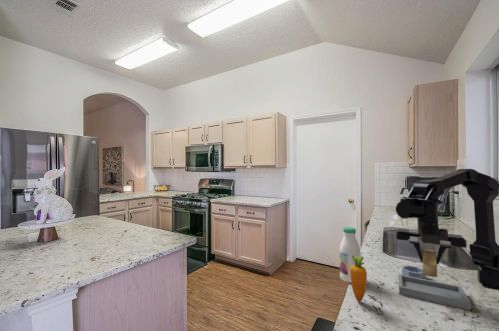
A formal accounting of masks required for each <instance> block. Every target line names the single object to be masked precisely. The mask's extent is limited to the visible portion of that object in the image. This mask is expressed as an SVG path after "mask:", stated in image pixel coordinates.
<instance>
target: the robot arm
mask: <svg viewBox="0 0 499 331" xmlns="http://www.w3.org/2000/svg"><path fill="white" fill-rule="evenodd" d="M458 185H462V186H463V187H464V188H465V189H466V192H467V195H468V196H469V197H470V198H471V200H472V201H473V209H474V210H473V211H474V223H475V224H474V225H475V241H474V242H473V243H469V245H468V244H467V239H465V238H464V237H463V236H462V235H461V234H453V233H449V232H448V231H449V230H448V229H447V228H439V210H438V209H439V208H438V205H443V201H442V200H441V199H439V197H441V196H442V195H444V194H445V192H446V190H448V189H450V188H452V187H453V188H454V187H456V186H458ZM498 196H499V181H498V180H497V179H496V178H494V177H492V176H490V175H487V174H485V173H482V172H479V171H477V169H473V168H460V169H456V170H455V171H453V172H450V173H447V174H445V175H442V176H440V177H439V176H438V177H437V178H434V179H433V178H432V179H424V180H423V179H422V180H417V181H415V182H413V185H412V187H411V189H410V191H409V192H408V194H407V196H406V197H405V198H404V197H401V198H400V201H399V202H397V203H396V206H395V212H396V214H397V216H398V217H400V218H401V219H416V220H417V232H410V229H403V228H397V229H396V230H395V237H396V240H399V241H408V243H409V244H412V245H413V246H414V248H415V250H416V253H417V255H418V257H419V260H420V262H421V263H422V249H421V243H423V244H434V245H436V256H437V265H439V263H440V261H441V259H442V256H443V254H444V252H445V251H446V250H447V249H451V248H452V246H453V247H456V248H464V249H466V248H467V247H468V246H469V254H468V255H470V258H471V260H472V263H473V265H474V266H478V268H477V269H476V274H477V276H476V279H477V281H478V282H479V283H480V284H481V285H482V287H484V288H489V289H495V290H499V244H498V242H497V241H496V230H495V229H496V228H495V227H496V226H495V219H494V218H495V214H494V201H495V200H496V198H498ZM420 240H421V243H420ZM451 245H452V246H451Z"/></svg>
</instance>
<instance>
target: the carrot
mask: <svg viewBox="0 0 499 331" xmlns="http://www.w3.org/2000/svg"><path fill="white" fill-rule="evenodd" d="M351 256H352V258H353V260H354V262H355V265H353V266H351V267H350V274H351V283H350V284H351V288H352V291H353V294H354V297H355V299H356V301H357V302H358V303H361V302H362V301H363V299H364V297H365V294H366V289H367V281H368V280H367V273H368V272H367V270H366V267H365V266H363V265H364V264H365V262H363V260H364V258H365V257H364V256H363V255H361V256H359V258H357V257H356V258H355V257H354V255H351ZM357 260H358V261H357Z"/></svg>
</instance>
